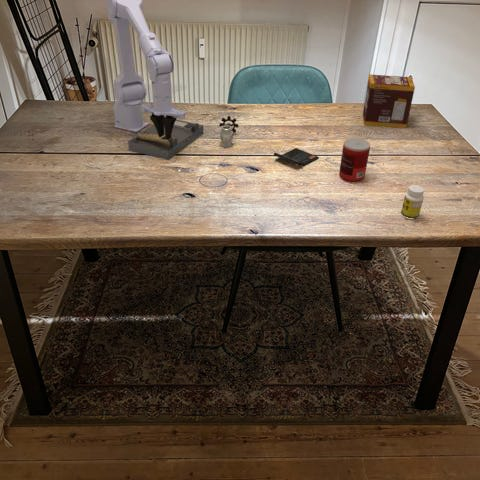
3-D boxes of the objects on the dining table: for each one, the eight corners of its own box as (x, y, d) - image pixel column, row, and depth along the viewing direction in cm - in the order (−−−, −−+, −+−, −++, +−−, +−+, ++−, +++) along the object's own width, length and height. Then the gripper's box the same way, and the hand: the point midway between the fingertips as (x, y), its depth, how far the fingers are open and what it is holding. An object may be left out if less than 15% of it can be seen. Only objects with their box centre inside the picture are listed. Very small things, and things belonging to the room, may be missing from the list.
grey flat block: (128, 150, 172) (127, 136, 169) (166, 125, 189) (165, 112, 186) (168, 160, 167) (167, 146, 164) (203, 133, 184) (203, 120, 181)
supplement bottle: (398, 210, 146) (404, 183, 141) (414, 210, 146) (421, 183, 141) (404, 220, 142) (410, 193, 137) (421, 219, 142) (428, 192, 137)
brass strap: (137, 138, 172) (136, 135, 171) (142, 135, 174) (141, 132, 173) (168, 142, 167) (168, 139, 166) (173, 138, 169) (173, 135, 169)
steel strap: (160, 123, 182) (160, 120, 182) (164, 120, 184) (164, 117, 184) (190, 130, 178) (190, 127, 178) (195, 127, 180) (195, 124, 180)
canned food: (366, 173, 163) (372, 140, 157) (362, 185, 157) (368, 151, 151) (341, 168, 165) (346, 136, 159) (336, 180, 159) (341, 146, 152)
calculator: (318, 159, 171) (319, 150, 169) (296, 171, 164) (297, 162, 162) (295, 150, 176) (296, 141, 174) (273, 161, 169) (273, 152, 167)
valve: (235, 149, 175) (238, 134, 185) (236, 130, 171) (238, 116, 181) (215, 148, 175) (219, 133, 185) (215, 129, 171) (219, 115, 181)
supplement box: (361, 114, 202) (368, 73, 193) (403, 117, 201) (411, 76, 192) (363, 125, 194) (370, 83, 185) (406, 128, 192) (415, 86, 183)
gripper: (134, 95, 160) (138, 137, 168) (176, 103, 155) (178, 146, 163) (147, 88, 165) (150, 129, 173) (188, 95, 160) (189, 137, 168)
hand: (164, 136), depth 168 cm, fingers closed
